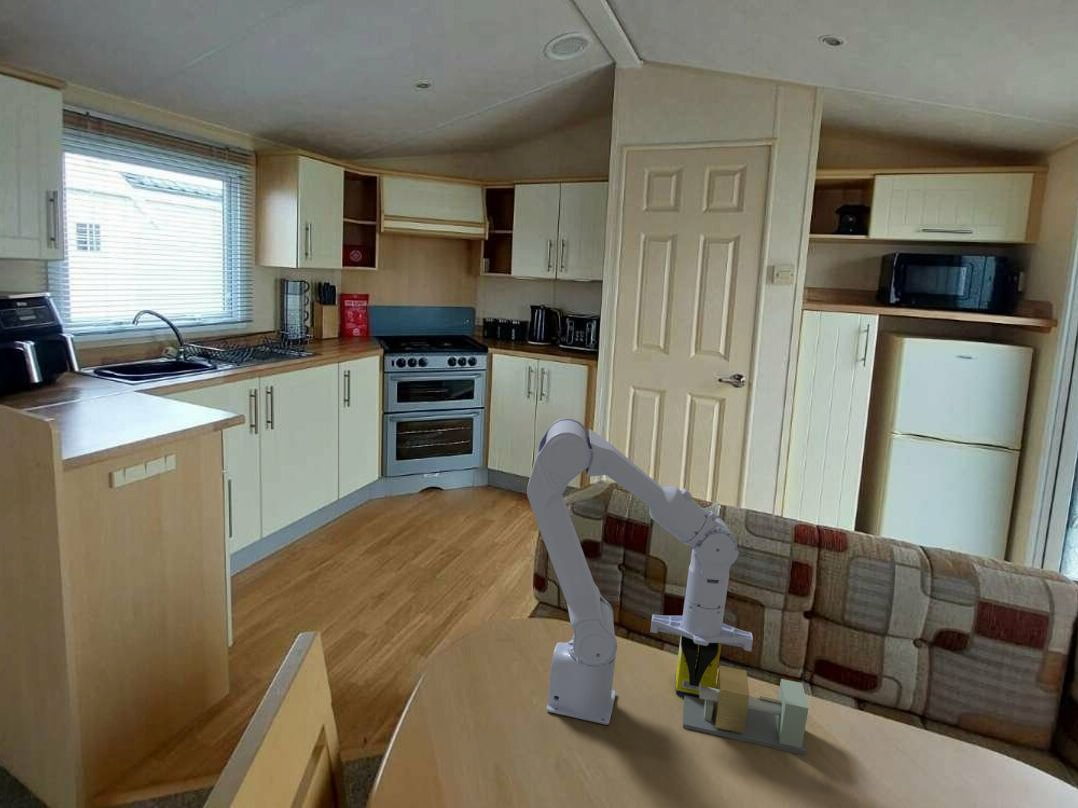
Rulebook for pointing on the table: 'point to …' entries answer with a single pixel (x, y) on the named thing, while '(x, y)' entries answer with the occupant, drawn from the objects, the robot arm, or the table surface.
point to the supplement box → (683, 675)
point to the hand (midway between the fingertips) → (694, 682)
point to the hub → (731, 699)
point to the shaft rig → (756, 717)
